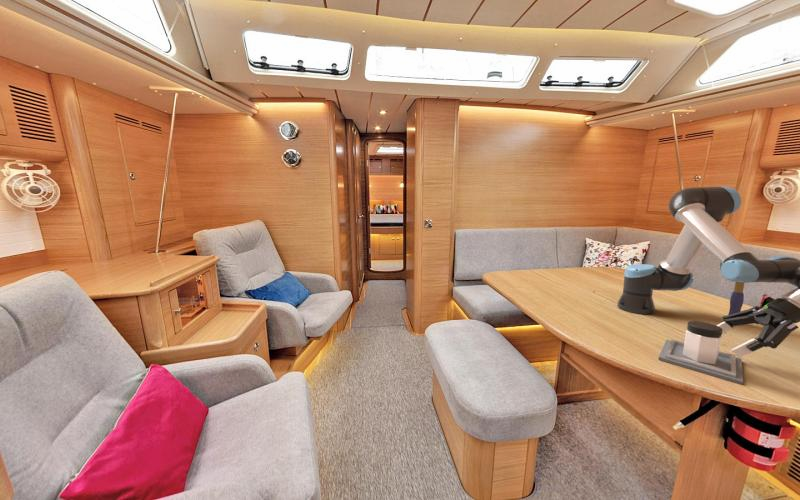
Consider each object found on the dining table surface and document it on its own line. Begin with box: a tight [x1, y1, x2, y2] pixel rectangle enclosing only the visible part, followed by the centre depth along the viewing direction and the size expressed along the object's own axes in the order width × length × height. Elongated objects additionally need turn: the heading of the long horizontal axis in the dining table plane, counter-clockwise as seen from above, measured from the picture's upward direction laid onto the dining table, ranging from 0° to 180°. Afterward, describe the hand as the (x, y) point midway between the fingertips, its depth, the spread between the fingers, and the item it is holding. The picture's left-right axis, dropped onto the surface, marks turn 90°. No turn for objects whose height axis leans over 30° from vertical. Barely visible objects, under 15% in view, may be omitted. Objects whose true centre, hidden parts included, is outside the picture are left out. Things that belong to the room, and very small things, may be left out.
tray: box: [665, 339, 736, 377], centre depth 97 cm, size 16×16×1 cm
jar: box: [683, 320, 723, 364], centre depth 97 cm, size 9×8×12 cm
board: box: [658, 339, 744, 385], centre depth 98 cm, size 19×19×1 cm
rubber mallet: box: [719, 262, 745, 319], centre depth 124 cm, size 12×8×30 cm, turn 56°
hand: (720, 343), depth 94 cm, fingers open, 13 cm apart
